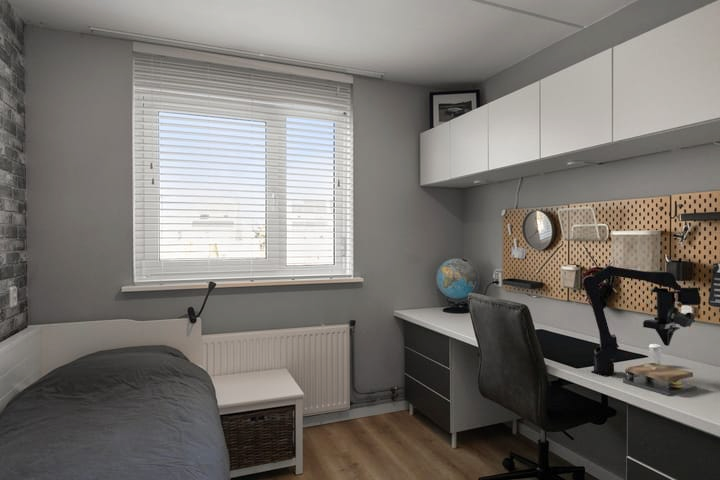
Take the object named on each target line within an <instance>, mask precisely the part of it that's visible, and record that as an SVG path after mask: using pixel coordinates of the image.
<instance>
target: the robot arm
mask: <svg viewBox="0 0 720 480" xmlns="http://www.w3.org/2000/svg"><path fill="white" fill-rule="evenodd" d="M610 277H618V278H624V279H631V280H636V281H637V280H638V281H644V282H648V283H650V284H654V286H653V287H652V288H651V289H650V290H649V292H651V293H656V294H655V295H656V306H654V307H653V310H656V316H654V317H653V318H654V319H651V318H650V319H645V320H644V321H643V322H642V327H643V328H645V329H652V330H655V331H656V333H657V334H658V336H659V338H660V340H661V341H662V344H663V345H664V346H667V347H669V346H670V343H671V341H672V338H673V336H674V333H675V332H676V331H678V330H679V329H681V327H682V328H687V327H689V328H690V327H691V326H692V323H695V322H696V320H695V314H694V313H692V312H690V311H689V312H685V313H684V312H680V310H679V307H677V306H676V303H679V305H680V306H695V307H696V306H697V307H698V306H701V299H702V297H701V295H700V291H699V287H696V286H694V287H693V286H691V287H690V286H689V287H685V286H684V287H682V286H681V285H680V284H679V283H678V282H677V280H676V275H674V274H673V273H672V272H668V271H666V270H665V271H664V270H655V271H654V270H652V271H651V270H650V271H647V270H646V271H645V270H644V271H643V270H639V269H638V270H637V269H631V268H624V267H618V266H612V265H605V267H604V268H602V269H600V270H599V271H597V272H595V273H594V274H592V275H591V274H590V275H586V276H584V277H583V278H582V285H583V288H584V289H585V291H586V294H587V296H588V298H589V301H590V303H591V307H592V312H593V314H594V318H595V322H596V325H597V329H598V337H599V345H598V346H597V347H596V348H595V349H594V350H593V351H594V355H593V370H590V373H593V374H596V375H599V376H602V377H603V376H604V377H608V376H609V377H610V376H614V375H617V372H615V364H614V359H613V356H616V354H618V353H619V352H618V351H619V350H618V348H620V346H619V344H618V342H617V341H618V340H617V336H616V334H611V332H610V329H609V326H608V325H609V324H608V321H607V318H606V315H605V311H604V307H603V304H602V301H601V293H600V292H601V291H600V290H601V287H600V285H601V284H602V283H604V281H606V280H607V279H609V278H610ZM658 286H660V287H658ZM668 288H670V289H672V290H669V289H668ZM677 325H679V327H678V326H677Z"/></svg>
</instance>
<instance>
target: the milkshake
mask: <svg viewBox="0 0 720 480" xmlns="http://www.w3.org/2000/svg"><path fill="white" fill-rule="evenodd" d="M663 345H664V343H662V344H661V345H660V344H657V343H650V344H649V345H648V351H649V357H650V358H649V360H650V363H656V364H660V365H661V361H662V360H661V359H662V349H663V348H662V347H663Z"/></svg>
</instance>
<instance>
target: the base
mask: <svg viewBox="0 0 720 480" xmlns="http://www.w3.org/2000/svg"><path fill="white" fill-rule="evenodd" d="M634 374H635V373H633V372H631V373H626V372H625V375H626V378H623V379H622V383H623V384H626V385H630V386H633V387H636V388H640V389H643V390H646V391H650V392H654V393H657V394H660V395H663V396H666V397H669V396H674V395H679V394H682V393H686V392H690V391H695V390H697V388H698V387H697V385H695V384H691V383H687V382H683V381H682V379H680V380H675V381H671V382H666V381H662V380H659V379H655V378H651V377H648V376H644V375H638V376H634Z"/></svg>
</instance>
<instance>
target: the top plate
mask: <svg viewBox="0 0 720 480" xmlns="http://www.w3.org/2000/svg"><path fill="white" fill-rule="evenodd" d="M624 372H625V374H626V373H631V372H632V373H634V374H637V375H639V376H643V375H644V376H648V377H651V378H655V379H659V380H662V381H666V382H671V381H675V380H680V379H681V380H684V379H689V378H693V376H694V373H693V371H689V370H684V369H680V368H676V367H672V366H668V365H664V364H661V363H660V364H656V363H651V362H650V363H643V364H639V365H633V366H629V367H627V368H625V369H624Z"/></svg>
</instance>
